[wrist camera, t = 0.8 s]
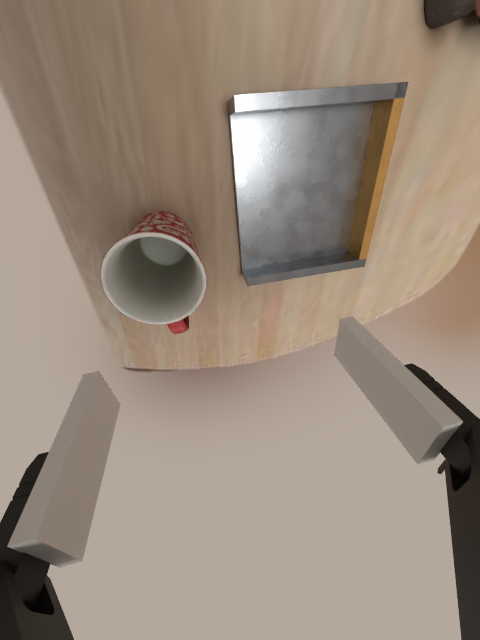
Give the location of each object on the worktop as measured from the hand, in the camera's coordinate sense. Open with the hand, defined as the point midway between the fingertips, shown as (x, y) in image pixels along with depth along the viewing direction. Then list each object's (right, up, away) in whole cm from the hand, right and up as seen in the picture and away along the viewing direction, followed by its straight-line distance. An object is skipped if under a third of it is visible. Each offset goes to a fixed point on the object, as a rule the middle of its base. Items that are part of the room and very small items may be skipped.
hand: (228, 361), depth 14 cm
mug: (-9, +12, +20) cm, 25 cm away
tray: (+9, +19, +19) cm, 28 cm away
